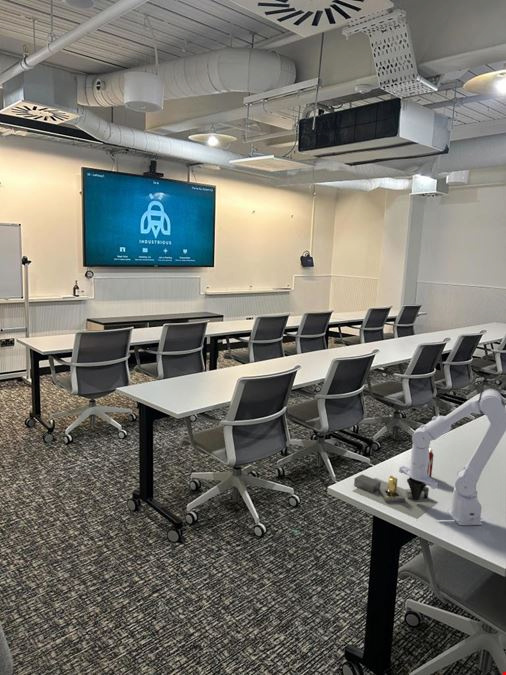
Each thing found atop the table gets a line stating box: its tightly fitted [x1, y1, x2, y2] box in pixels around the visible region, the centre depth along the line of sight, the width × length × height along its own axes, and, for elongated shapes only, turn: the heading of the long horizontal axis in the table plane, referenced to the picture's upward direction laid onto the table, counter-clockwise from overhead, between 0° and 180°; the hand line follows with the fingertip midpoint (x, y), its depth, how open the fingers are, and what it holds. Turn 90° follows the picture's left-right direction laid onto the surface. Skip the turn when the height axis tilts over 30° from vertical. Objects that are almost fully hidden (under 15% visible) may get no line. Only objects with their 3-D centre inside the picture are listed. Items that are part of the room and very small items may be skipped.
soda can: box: [427, 447, 435, 478], centre depth 190 cm, size 7×7×12 cm
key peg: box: [387, 475, 399, 496], centre depth 173 cm, size 5×3×7 cm, turn 1°
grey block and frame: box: [353, 473, 405, 503], centre depth 177 cm, size 16×15×3 cm
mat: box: [352, 477, 439, 520], centre depth 174 cm, size 25×16×1 cm, turn 45°
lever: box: [405, 486, 430, 499], centre depth 174 cm, size 2×8×3 cm, turn 95°
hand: (415, 499), depth 170 cm, fingers closed
